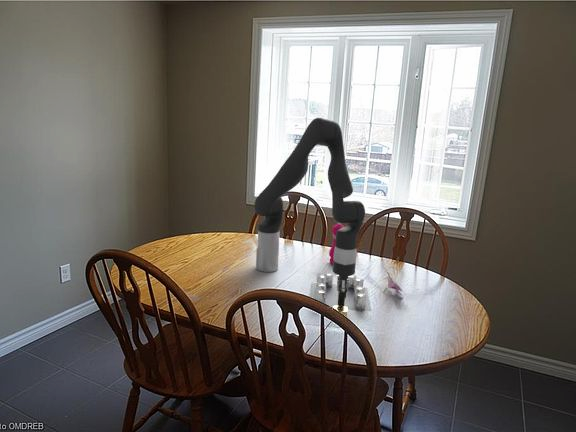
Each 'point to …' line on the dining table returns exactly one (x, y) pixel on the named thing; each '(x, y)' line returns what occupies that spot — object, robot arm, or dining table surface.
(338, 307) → the nut
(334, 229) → the pepper mill
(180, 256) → the dining table surface
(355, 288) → the spacers
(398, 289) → the lily
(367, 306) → the board
